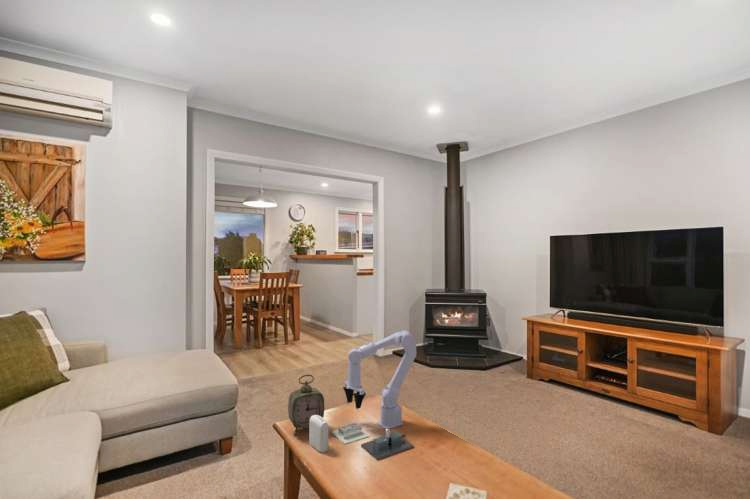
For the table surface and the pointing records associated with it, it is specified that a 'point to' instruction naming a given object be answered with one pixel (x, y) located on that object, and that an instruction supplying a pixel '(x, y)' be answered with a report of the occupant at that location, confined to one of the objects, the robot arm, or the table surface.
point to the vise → (387, 445)
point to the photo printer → (318, 433)
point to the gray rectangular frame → (349, 430)
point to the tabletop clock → (305, 405)
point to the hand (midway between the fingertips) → (354, 405)
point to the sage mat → (350, 439)
